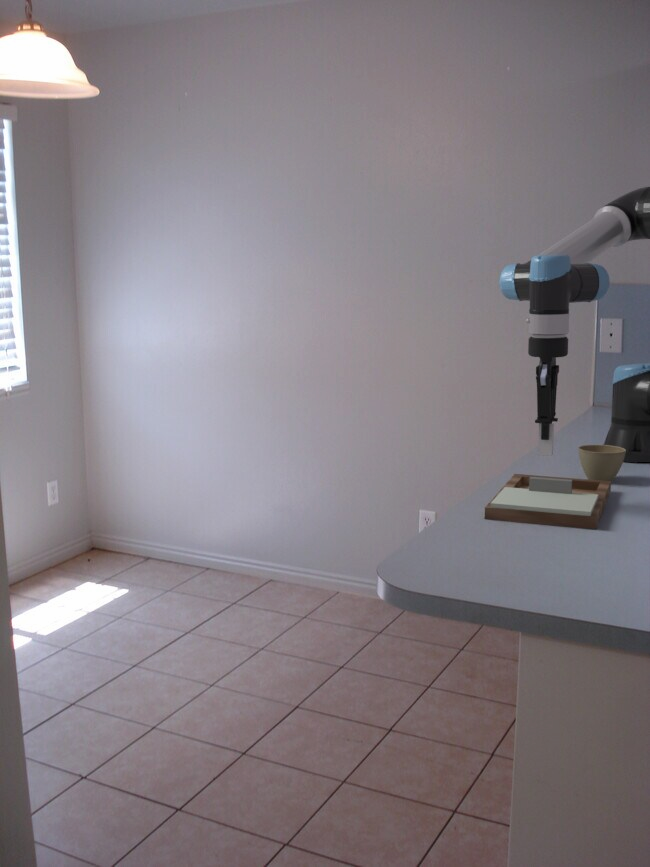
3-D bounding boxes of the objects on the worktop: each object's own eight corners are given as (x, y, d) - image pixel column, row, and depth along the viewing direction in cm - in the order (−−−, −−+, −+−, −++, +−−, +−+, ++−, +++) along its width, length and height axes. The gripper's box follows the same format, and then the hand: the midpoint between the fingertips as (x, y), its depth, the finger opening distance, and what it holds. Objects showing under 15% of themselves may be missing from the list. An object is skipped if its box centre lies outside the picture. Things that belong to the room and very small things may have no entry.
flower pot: (626, 486, 202) (628, 453, 201) (578, 484, 204) (579, 452, 203) (621, 476, 212) (623, 444, 211) (575, 474, 214) (577, 443, 213)
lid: (504, 490, 189) (505, 474, 188) (598, 498, 182) (598, 481, 182) (490, 507, 176) (491, 490, 175) (590, 516, 170) (591, 498, 169)
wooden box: (514, 483, 205) (514, 473, 205) (610, 491, 198) (610, 481, 197) (484, 518, 177) (484, 507, 176) (595, 529, 169) (596, 517, 169)
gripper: (534, 332, 190) (531, 447, 195) (523, 338, 178) (520, 460, 183) (572, 333, 188) (569, 449, 192) (563, 339, 176) (560, 463, 180)
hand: (545, 454), depth 188 cm, fingers closed
